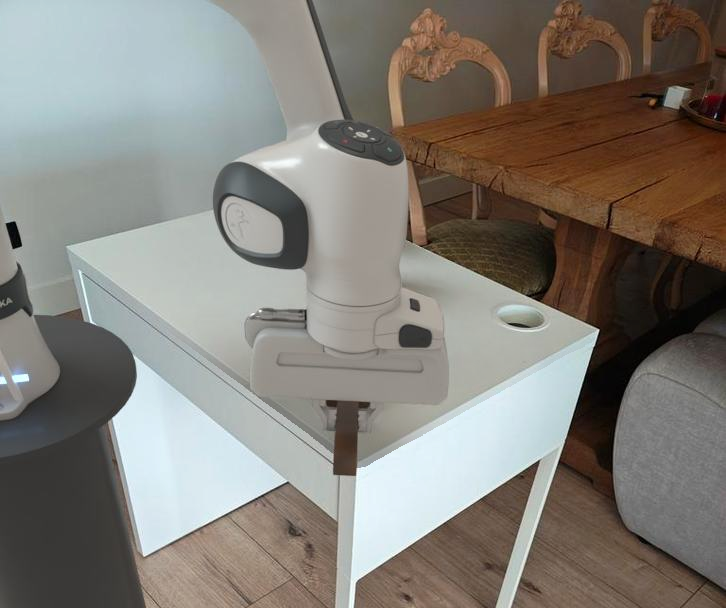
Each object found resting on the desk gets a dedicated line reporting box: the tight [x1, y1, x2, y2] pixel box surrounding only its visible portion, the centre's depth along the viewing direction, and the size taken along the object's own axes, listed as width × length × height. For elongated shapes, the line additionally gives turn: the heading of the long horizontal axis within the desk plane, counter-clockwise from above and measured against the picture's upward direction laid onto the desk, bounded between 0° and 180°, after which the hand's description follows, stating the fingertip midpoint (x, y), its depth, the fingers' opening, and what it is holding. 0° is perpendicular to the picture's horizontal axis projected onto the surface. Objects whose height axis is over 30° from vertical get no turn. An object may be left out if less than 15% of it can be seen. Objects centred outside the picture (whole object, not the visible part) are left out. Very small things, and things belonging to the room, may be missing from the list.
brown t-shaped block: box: [326, 400, 370, 477], centre depth 77 cm, size 8×13×4 cm, turn 179°
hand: (347, 428), depth 76 cm, fingers closed on brown t-shaped block, 2 cm apart
